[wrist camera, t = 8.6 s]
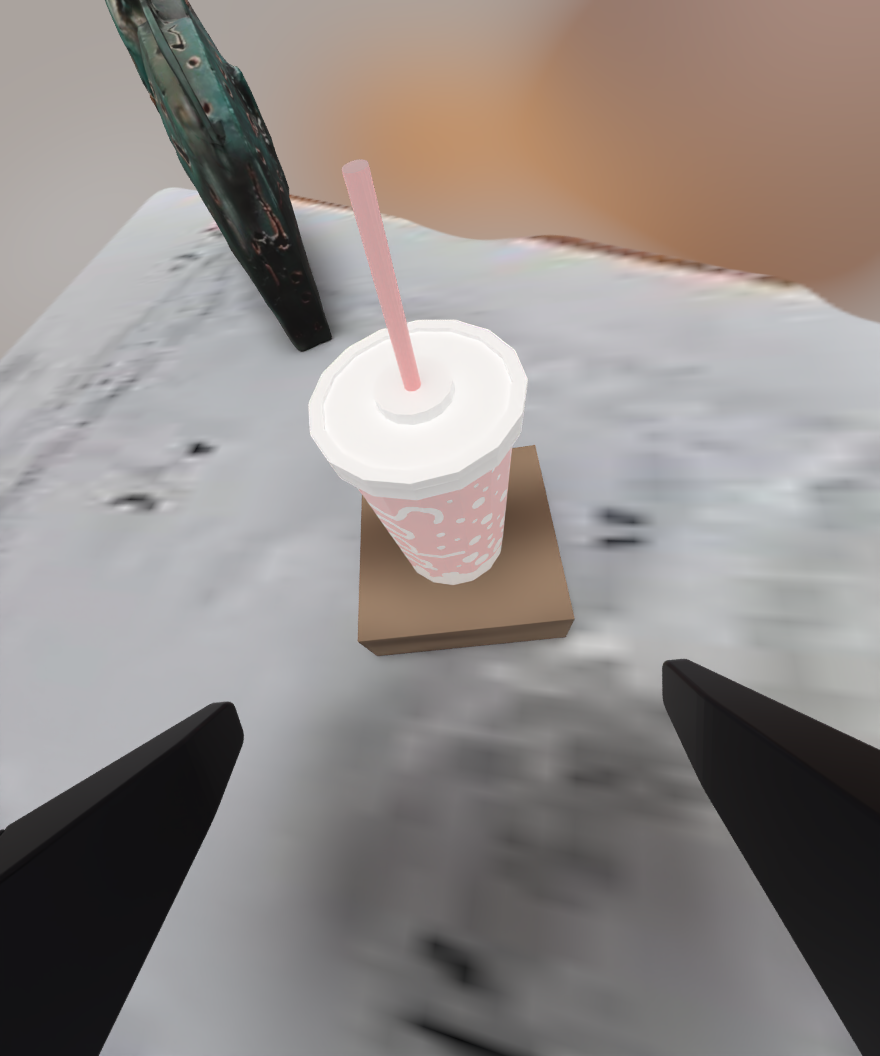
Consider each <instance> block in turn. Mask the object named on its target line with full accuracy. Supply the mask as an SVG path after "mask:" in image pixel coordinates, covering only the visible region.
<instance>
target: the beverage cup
mask: <svg viewBox="0 0 880 1056" xmlns="http://www.w3.org/2000/svg"><path fill="white" fill-rule="evenodd" d="M342 173H343V176H344V179H345V183H346V186H347V190H348V193H349V197H350V201H351V204H352V208H353V211H354V214H355V218H356V221H357V225H358V228H359V232H360V235H361V239H362V242H363V246H364V249H365V253H366V256H367V260H368V263H369V267H370V270H371V274H372V277H373V281H374V284H375V287H376V291H377V294H378V298H379V301H380V305H381V308H382V312H383V315H384V319H385V322H386V326H387V328H385V329H381V330H379V331H377V332H375V333H373V334H372V335H370V336H368V337H366V338H364V339H363V340H361V341H359V342H357V343H355V344H353V345H352V346H350V347H348V348H347V349H346V350H345V351H344V352H343V353H342V354H341V355H340V356H339V357H338V358H337V359H336V360H335V361H334V362H333V363H332V364H331V365H330V366H329V367H328V368H327V369H326V370H325V371H324V372H323V373H322V375H321V377H320V379H319V381H318V383H317V386H316V388H315V390H314V392H313V394H312V397H311V399H310V401H309V423H310V435H311V437H312V438H313V440H314V441H315V443H316V444H317V446H318V447H319V449H320V450H321V452H322V453H323V455H324V456H325V458H326V459H327V460H328V462H329V463H330V465H331V466H332V468H333V469H334V470H335V471H336V473H337V474H338V476H339V477H340V479H342V480H344V481H346V482H348V483H350V484H351V485H353V486H355V487H357V488H358V489H359V491H360V492H361V493H362V495H363V496H364V498H365V499H366V500H367V502H368V503H369V505H370V506H371V508H372V509H373V510H374V512H375V513H376V515H377V516H378V518H379V519H380V520H381V522H382V523H383V525H384V526H385V527H386V529H387V530H388V532H389V533H390V535H391V536H392V537H393V539H394V540H395V542H396V543H397V545H398V546H399V547H400V549H401V550H402V552H403V553H404V554H405V556H406V557H407V559H408V560H409V562H410V563H411V564H412V566H413V567H414V569H415V570H416V572H417V573H419V574H420V575H422V576H424V577H425V578H427V579H429V580H431V581H432V582H435V583H442V584H449V585H456V584H460V583H464V582H469V581H473V580H475V579H476V578H478V577H479V576H480V575H482V574H483V573H485V572H486V571H488V570H489V569H490V568H491V567H492V565H493V563H494V562H495V560H496V559H497V557H498V556H499V554H500V552H501V545H502V539H503V530H504V521H505V511H506V501H507V492H508V482H509V472H510V463H511V453H512V445H513V444H514V443H515V441H516V440H517V438H518V437H519V436H520V434H521V429H522V422H523V415H524V408H525V399H526V392H527V382H528V379H527V376H526V374H525V372H524V369H523V367H522V365H521V363H520V360H519V358H518V356H517V353H516V351H515V350H514V349H513V348H512V347H510V346H509V345H508V344H507V343H505V342H504V341H503V340H502V339H500V338H499V337H498V336H496V335H495V334H494V333H493V332H491V331H490V330H488V329H485V328H481V327H478V326H474V325H471V324H468V323H464V322H461V321H458V320H415V321H412V322H408V323H406V318H405V314H404V310H403V306H402V302H401V298H400V293H399V289H398V285H397V281H396V277H395V272H394V268H393V264H392V260H391V256H390V252H389V247H388V243H387V239H386V235H385V231H384V226H383V222H382V218H381V214H380V210H379V206H378V202H377V197H376V193H375V189H374V185H373V180H372V176H371V172H370V168H369V164H368V161H366V160H355V161H351V162H349V163H347V164H345V165H344V166H343V168H342Z"/></svg>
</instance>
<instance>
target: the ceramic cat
mask: <svg viewBox="0 0 880 1056" xmlns="http://www.w3.org/2000/svg"><path fill="white" fill-rule="evenodd" d="M105 1H106V4H107V7H108V9H109V12H110V14H111V16H112V19H113V21H114V23H115V26H116V28H117V30H118V32H119V35H120V37H121V39H122V40H123V42H124V44H125V46H126V47H127V49H128V51H129V54H130V56H131V58H132V60H133V62H134V64H135V67H136V69H137V71H138V73H139V75H140V78H141V80H142V82H143V84H144V85H145V87H146V89H147V91H148V93H149V94H150V98H151V100H152V101H153V103H154V105H155V106H156V108H157V110H158V112H159V113H160V116H161V118H162V121H163V124H164V127H165V129H166V132H167V134H168V136H169V139H170V141H171V143H172V144H173V146H174V148H175V150H176V153H177V156H178V158H179V160H180V163H181V164H182V166H183V168H184V170H185V171H186V173H187V175H188V176H189V178H190V180H191V181H192V183H193V184H194V186H195V187H196V189H197V191H198V193H199V195H200V197H201V198H202V200H203V202H204V204H205V205H206V207H207V208H208V210H209V212H210V213H211V215H212V217H213V218H214V220H215V222H216V223H217V225H218V227H219V229H220V230H221V232H222V234H223V236H224V237H225V239H226V241H227V243H228V245H229V247H230V249H231V251H232V252H233V254H234V255H235V257H236V258H237V259H238V261H239V262H240V263H241V265H242V266H243V268H244V269H245V271H246V272H247V274H248V275H249V277H250V278H251V280H252V281H253V283H254V284H255V286H256V287H257V289H258V291H259V292H260V294H261V295H262V297H263V299H264V300H265V302H266V303H267V305H268V306H269V308H270V309H271V310H272V311H273V313H274V314H275V316H276V318H277V319H278V321H279V322H280V324H281V326H282V327H283V329H284V331H285V332H286V334H287V336H288V337H289V339H290V340H291V342H292V343H293V344H294V346H295V347H296V348H297V349H298V350H300V351H305V350H307V349H309V348H311V347H314V346H316V345H317V344H319V343H322V342H325V341H327V340H330V339H331V337H332V336H331V333H330V329H329V326H328V323H327V320H326V318H325V315H324V312H323V308H322V304H321V301H320V297H319V293H318V290H317V287H316V284H315V281H314V278H313V275H312V272H311V269H310V266H309V263H308V259H307V256H306V253H305V250H304V246H303V243H302V240H301V236H300V232H299V229H298V225H297V221H296V218H295V214H294V211H293V208H292V204H291V201H290V198H289V187H288V184H287V181H286V178H285V175H284V172H283V170H282V167H281V165H280V162H279V160H278V157H277V155H276V152H275V148H274V146H273V142H272V139H271V136H270V134H269V132H268V129H267V127H266V125H265V123H264V120H263V118H262V116H261V114H260V111H259V109H258V106H257V104H256V102H255V99H254V97H253V95H252V92H251V90H250V88H249V86H248V84H247V82H246V80H245V78H244V76H243V74H242V72H241V71H240V69H239V68H237V67H236V66H235V67H234V66H232V65H230V64H229V63H227V62H226V60H225V59H224V58H223V57H222V56H221V54H220V53H219V51H218V49H217V48H216V46H215V44H214V43H213V41H212V39H211V37H210V36H209V34H208V33H207V31H206V30H205V28H204V27H203V25H202V23H201V22H200V20H199V19H198V17H197V15H196V14H195V12H194V10H193V9H192V7H191V5H190V3H189V2H188V0H105Z"/></svg>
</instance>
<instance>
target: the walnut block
mask: <svg viewBox="0 0 880 1056" xmlns="http://www.w3.org/2000/svg"><path fill="white" fill-rule="evenodd" d="M573 621H574V614H573V610H572V605H571V601H570V597H569V592H568V588H567V583H566V579H565V575H564V570H563V566H562V562H561V557H560V553H559V548H558V544H557V540H556V535H555V531H554V526H553V522H552V518H551V513H550V509H549V504H548V500H547V496H546V491H545V487H544V482H543V478H542V474H541V469H540V465H539V460H538V456H537V452H536V447H535V445H532V446H525V447H518V448H512V453H511V463H510V472H509V482H508V492H507V501H506V511H505V521H504V530H503V539H502V545H501V552H500V554H499V556H498V557H497V559H496V560H495V562H494V563H493V565H492V567H491V568H490V569H489V570H488V571H486V572H485V573H483V574H482V575H480V576H479V577H478V578H476V579H475V580H473V581H469V582H464V583H460V584H456V585H449V584H442V583H435V582H432V581H431V580H429V579H427V578H425V577H424V576H422V575H420V574H419V573H417V572H416V570H415V569H414V567H413V566H412V564H411V563H410V562H409V560H408V559H407V557H406V556H405V554H404V553H403V552H402V550H401V549H400V547H399V546H398V545H397V543H396V542H395V540H394V539H393V537H392V536H391V535H390V533H389V532H388V530H387V529H386V527H385V526H384V525H383V523H382V522H381V520H380V519H379V518H378V516H377V515H376V513H375V512H374V510H373V509H372V508H371V506H370V505H369V503H368V502H367V500H366V499H365V498H364V496H363V495H362V512H361V547H360V581H359V615H358V642H359V643H360V644H362V645H363V646H364V647H366V648H367V649H368V650H370V651H371V652H373V653H374V654H375V655H377V656H382V655H392V654H402V653H412V652H422V651H432V650H442V649H452V648H462V647H471V646H481V645H491V644H501V643H511V642H521V641H531V640H541V639H551V638H561V637H566V635H567V633H568V631H569V629H570V627H571V625H572V623H573Z"/></svg>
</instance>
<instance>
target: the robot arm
mask: <svg viewBox="0 0 880 1056" xmlns="http://www.w3.org/2000/svg"><path fill="white" fill-rule="evenodd" d="M662 695H663V702H664V706H665V709H666V711H667V713H668V715H669V717H670V719H671V722H672V724H673V726H674V728H675V730H676V732H677V734H678V736H679V739H680V741H681V743H682V745H683V747H684V749H685V751H686V754H687V756H688V758H689V760H690V762H691V764H692V766H693V768H694V771H695V773H696V775H697V777H698V779H699V781H700V783H701V785H702V787H703V789H704V790H705V792H706V794H707V796H708V797H709V799H710V801H711V803H712V804H713V806H714V808H715V809H716V811H717V813H718V814H719V816H720V818H721V819H722V821H723V823H724V824H725V826H726V828H727V829H728V831H729V833H730V834H731V836H732V838H733V839H734V841H735V843H736V844H737V846H738V848H739V849H740V851H741V853H742V855H743V856H744V858H745V860H746V861H747V863H748V865H749V866H750V868H751V870H752V871H753V873H754V875H755V876H756V878H757V880H758V881H759V883H760V885H761V886H762V888H763V890H764V891H765V893H766V895H767V896H768V898H769V900H770V901H771V903H772V905H773V906H774V908H775V910H776V912H777V913H778V915H779V917H780V918H781V920H782V922H783V923H784V925H785V927H786V928H787V930H788V932H789V933H790V935H791V937H792V938H793V940H794V942H795V943H796V945H797V947H798V948H799V950H800V952H801V953H802V955H803V957H804V958H805V960H806V962H807V963H808V965H809V967H810V969H811V970H812V972H813V974H814V975H815V977H816V979H817V980H818V982H819V984H820V985H821V987H822V989H823V990H824V992H825V994H826V995H827V997H828V999H829V1000H830V1002H831V1004H832V1005H833V1007H834V1009H835V1010H836V1012H837V1014H838V1015H839V1017H840V1019H841V1020H842V1022H843V1024H844V1026H845V1027H846V1029H847V1031H848V1032H849V1034H850V1036H851V1037H852V1039H853V1041H854V1042H855V1044H856V1046H857V1047H858V1049H859V1051H860V1052H861V1054H862V1056H880V750H879V749H877V748H875V747H873V746H871V745H868V744H866V743H864V742H862V741H860V740H858V739H856V738H854V737H851V736H849V735H847V734H845V733H843V732H841V731H839V730H837V729H834V728H832V727H830V726H828V725H826V724H824V723H822V722H820V721H817V720H815V719H813V718H811V717H809V716H807V715H805V714H803V713H800V712H798V711H796V710H794V709H792V708H790V707H788V706H786V705H783V704H781V703H779V702H777V701H775V700H773V699H771V698H769V697H766V696H764V695H762V694H760V693H758V692H756V691H754V690H752V689H749V688H747V687H745V686H743V685H741V684H739V683H737V682H735V681H732V680H730V679H728V678H726V677H724V676H722V675H720V674H718V673H715V672H713V671H711V670H709V669H707V668H705V667H703V666H701V665H698V664H696V663H694V662H692V661H690V660H687V659H676V660H667V661H665V662H664V663H663V666H662ZM243 740H244V733H243V729H242V726H241V723H240V720H239V717H238V714H237V711H236V708H235V706H234V704H233V703H231V702H218V703H212V704H210V705H208V706H206V707H205V708H203V709H201V710H200V711H198V712H196V713H195V714H193V715H191V716H190V717H188V718H186V719H185V720H183V721H181V722H180V723H178V724H176V725H175V726H173V727H171V728H170V729H168V730H166V731H165V732H163V733H161V734H160V735H158V736H156V737H155V738H153V739H151V740H150V741H148V742H146V743H145V744H143V745H141V746H140V747H138V748H136V749H135V750H133V751H131V752H130V753H128V754H126V755H125V756H123V757H121V758H120V759H118V760H116V761H115V762H113V763H111V764H110V765H108V766H106V767H105V768H103V769H101V770H100V771H98V772H96V773H95V774H93V775H91V776H90V777H88V778H86V779H85V780H83V781H81V782H80V783H78V784H76V785H75V786H73V787H71V788H70V789H68V790H66V791H65V792H63V793H62V794H60V795H58V796H57V797H55V798H53V799H52V800H50V801H48V802H47V803H45V804H43V805H42V806H40V807H38V808H37V809H35V810H33V811H32V812H30V813H28V814H27V815H25V816H23V817H22V818H20V819H18V820H17V821H15V822H13V823H12V824H10V825H8V826H7V827H6V829H5V830H0V1056H99V1054H100V1052H101V1050H102V1048H103V1046H104V1044H105V1042H106V1040H107V1038H108V1036H109V1034H110V1032H111V1029H112V1027H113V1025H114V1023H115V1021H116V1019H117V1017H118V1015H119V1013H120V1011H121V1009H122V1007H123V1005H124V1003H125V1001H126V999H127V997H128V995H129V992H130V990H131V988H132V986H133V984H134V982H135V980H136V978H137V976H138V974H139V972H140V970H141V968H142V966H143V964H144V962H145V960H146V958H147V955H148V953H149V951H150V949H151V947H152V945H153V943H154V941H155V939H156V937H157V935H158V933H159V931H160V929H161V927H162V925H163V923H164V921H165V918H166V916H167V914H168V912H169V910H170V908H171V906H172V904H173V902H174V900H175V898H176V896H177V894H178V892H179V890H180V888H181V886H182V884H183V881H184V879H185V877H186V875H187V873H188V871H189V869H190V867H191V865H192V863H193V861H194V859H195V857H196V855H197V853H198V851H199V849H200V847H201V844H202V842H203V840H204V838H205V836H206V834H207V832H208V830H209V828H210V826H211V823H212V821H213V819H214V817H215V814H216V812H217V809H218V807H219V805H220V802H221V799H222V797H223V794H224V792H225V789H226V786H227V784H228V781H229V779H230V776H231V774H232V771H233V768H234V766H235V763H236V761H237V758H238V755H239V753H240V750H241V748H242V745H243Z"/></svg>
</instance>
